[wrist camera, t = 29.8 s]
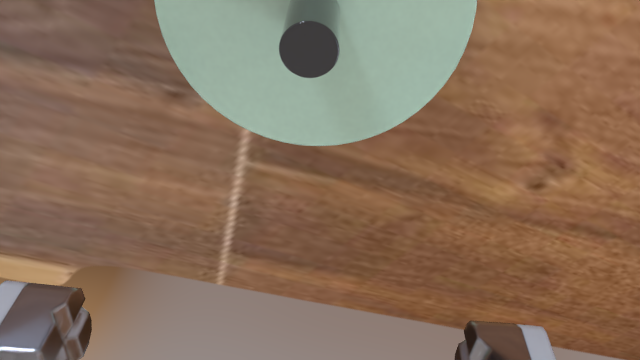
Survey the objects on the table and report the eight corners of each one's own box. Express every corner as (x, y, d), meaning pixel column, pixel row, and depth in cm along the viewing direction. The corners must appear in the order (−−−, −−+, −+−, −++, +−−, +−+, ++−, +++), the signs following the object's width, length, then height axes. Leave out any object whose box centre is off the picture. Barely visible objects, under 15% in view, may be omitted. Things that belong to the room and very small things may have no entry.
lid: (432, 149, 32) (446, 209, 28) (170, 121, 32) (141, 178, 27) (518, -158, 22) (561, -141, 18) (143, -206, 22) (92, -200, 17)
